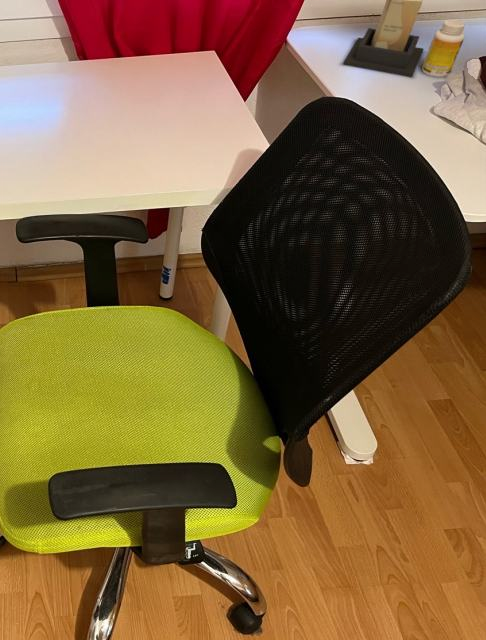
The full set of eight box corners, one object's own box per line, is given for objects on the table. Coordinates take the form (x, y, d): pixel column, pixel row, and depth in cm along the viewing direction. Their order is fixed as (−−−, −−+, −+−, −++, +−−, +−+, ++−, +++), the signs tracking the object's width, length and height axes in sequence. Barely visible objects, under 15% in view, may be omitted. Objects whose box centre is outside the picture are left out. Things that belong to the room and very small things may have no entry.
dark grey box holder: (422, 53, 152) (429, 34, 149) (411, 78, 144) (418, 59, 141) (356, 41, 157) (362, 23, 154) (342, 65, 149) (348, 47, 146)
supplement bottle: (451, 79, 143) (472, 29, 136) (422, 77, 144) (442, 27, 137) (447, 67, 147) (467, 18, 139) (419, 65, 148) (438, 16, 141)
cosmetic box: (370, 58, 149) (390, -2, 140) (368, 49, 152) (387, -9, 143) (401, 60, 148) (423, 0, 139) (399, 51, 151) (420, -8, 142)
